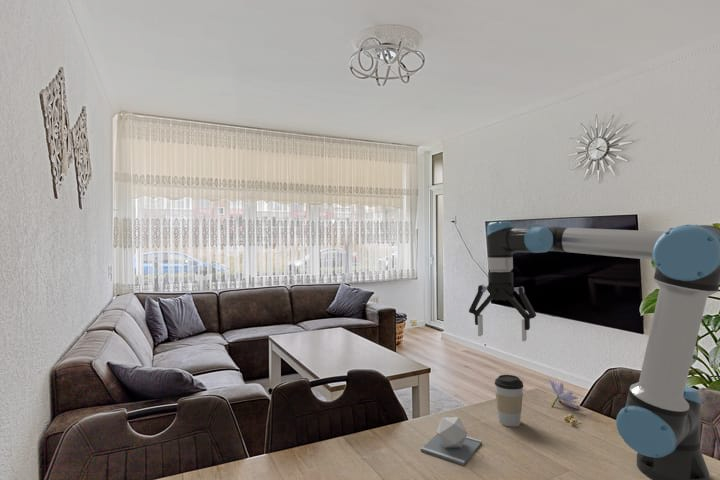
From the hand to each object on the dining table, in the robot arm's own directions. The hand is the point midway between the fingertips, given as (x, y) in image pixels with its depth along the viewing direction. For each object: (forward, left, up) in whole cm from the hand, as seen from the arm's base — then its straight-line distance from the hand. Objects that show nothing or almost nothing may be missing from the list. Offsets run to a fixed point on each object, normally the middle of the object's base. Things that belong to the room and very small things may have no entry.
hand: (501, 337), depth 132 cm
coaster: (+9, +19, -30) cm, 36 cm away
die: (+9, +19, -29) cm, 36 cm away
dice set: (-17, -18, -30) cm, 39 cm away
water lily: (-13, -31, -30) cm, 45 cm away
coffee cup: (0, -7, -30) cm, 31 cm away
